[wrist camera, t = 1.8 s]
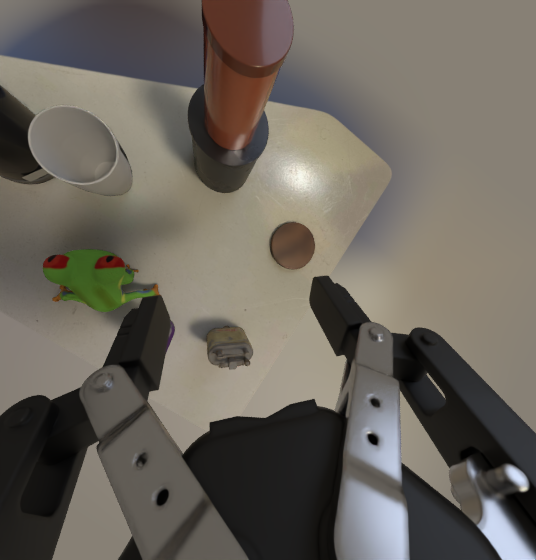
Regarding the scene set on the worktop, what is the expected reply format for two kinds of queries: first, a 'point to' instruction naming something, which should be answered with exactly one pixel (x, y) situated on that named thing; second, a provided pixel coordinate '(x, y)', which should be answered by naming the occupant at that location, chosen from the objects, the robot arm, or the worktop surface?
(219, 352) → the lighter
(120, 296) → the toy
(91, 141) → the cup
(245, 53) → the canister
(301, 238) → the disc
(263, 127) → the tin
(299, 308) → the worktop surface
